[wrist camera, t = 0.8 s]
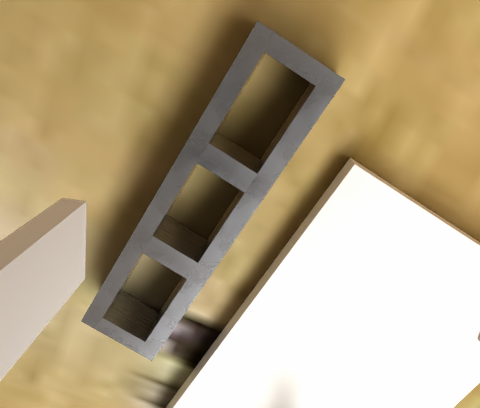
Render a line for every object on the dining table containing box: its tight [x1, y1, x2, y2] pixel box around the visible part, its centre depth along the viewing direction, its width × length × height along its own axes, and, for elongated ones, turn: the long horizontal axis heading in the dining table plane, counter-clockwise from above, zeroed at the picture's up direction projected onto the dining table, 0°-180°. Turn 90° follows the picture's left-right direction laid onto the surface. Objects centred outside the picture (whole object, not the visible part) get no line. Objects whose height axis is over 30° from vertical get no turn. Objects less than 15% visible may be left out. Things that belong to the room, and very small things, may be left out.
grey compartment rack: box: [82, 21, 345, 361], centre depth 31 cm, size 24×6×4 cm, turn 148°
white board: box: [166, 158, 480, 408], centre depth 35 cm, size 28×18×2 cm, turn 148°
